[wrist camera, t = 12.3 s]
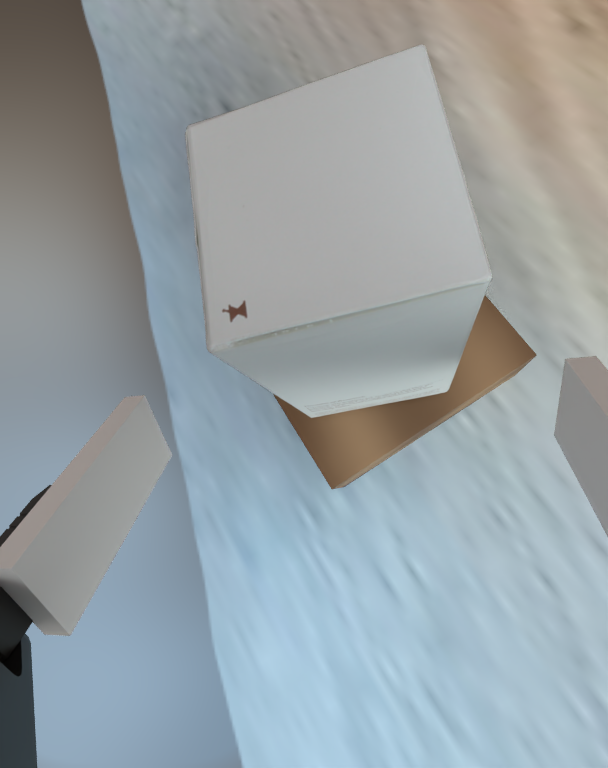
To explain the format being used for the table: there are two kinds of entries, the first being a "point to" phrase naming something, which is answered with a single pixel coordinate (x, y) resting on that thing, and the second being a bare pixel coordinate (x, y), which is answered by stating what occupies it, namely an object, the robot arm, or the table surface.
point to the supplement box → (338, 238)
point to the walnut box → (411, 405)
